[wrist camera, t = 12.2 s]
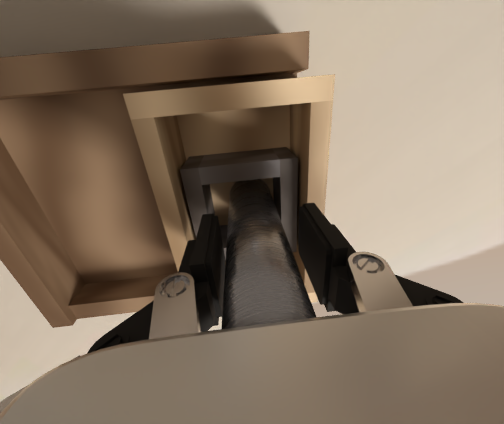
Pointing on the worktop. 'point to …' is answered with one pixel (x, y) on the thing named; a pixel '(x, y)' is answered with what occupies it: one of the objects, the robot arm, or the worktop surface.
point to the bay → (101, 165)
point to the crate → (234, 151)
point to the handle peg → (260, 263)
